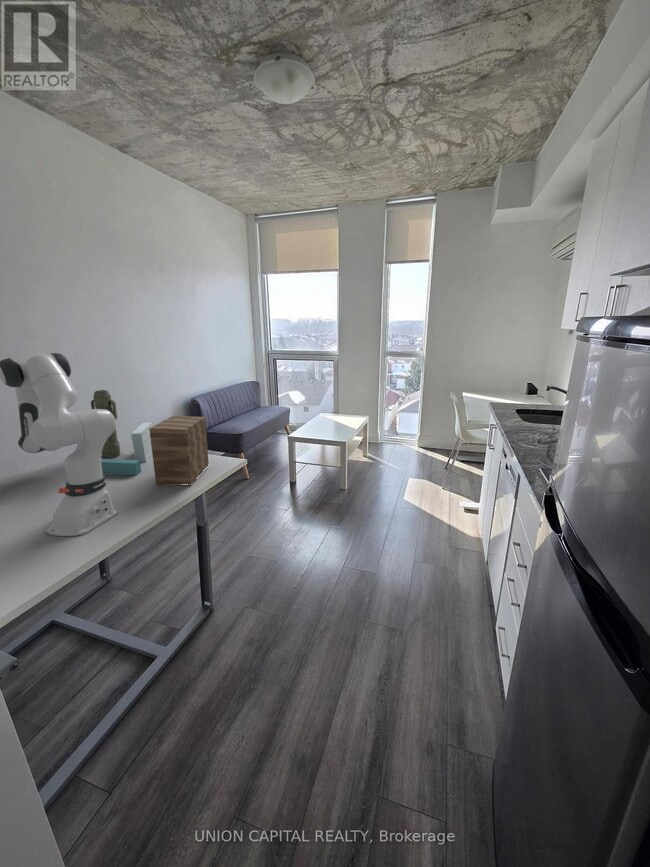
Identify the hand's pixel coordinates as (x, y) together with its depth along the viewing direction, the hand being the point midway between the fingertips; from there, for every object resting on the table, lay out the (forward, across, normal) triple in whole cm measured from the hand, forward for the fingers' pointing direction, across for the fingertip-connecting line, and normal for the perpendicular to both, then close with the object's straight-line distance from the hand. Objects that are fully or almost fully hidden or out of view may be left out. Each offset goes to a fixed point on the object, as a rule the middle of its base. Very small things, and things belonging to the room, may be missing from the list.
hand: (94, 416), depth 165 cm
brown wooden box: (+20, 0, +43) cm, 48 cm away
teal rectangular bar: (-9, 0, +26) cm, 28 cm away
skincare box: (-7, +24, +28) cm, 37 cm away
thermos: (-22, +22, +19) cm, 37 cm away
